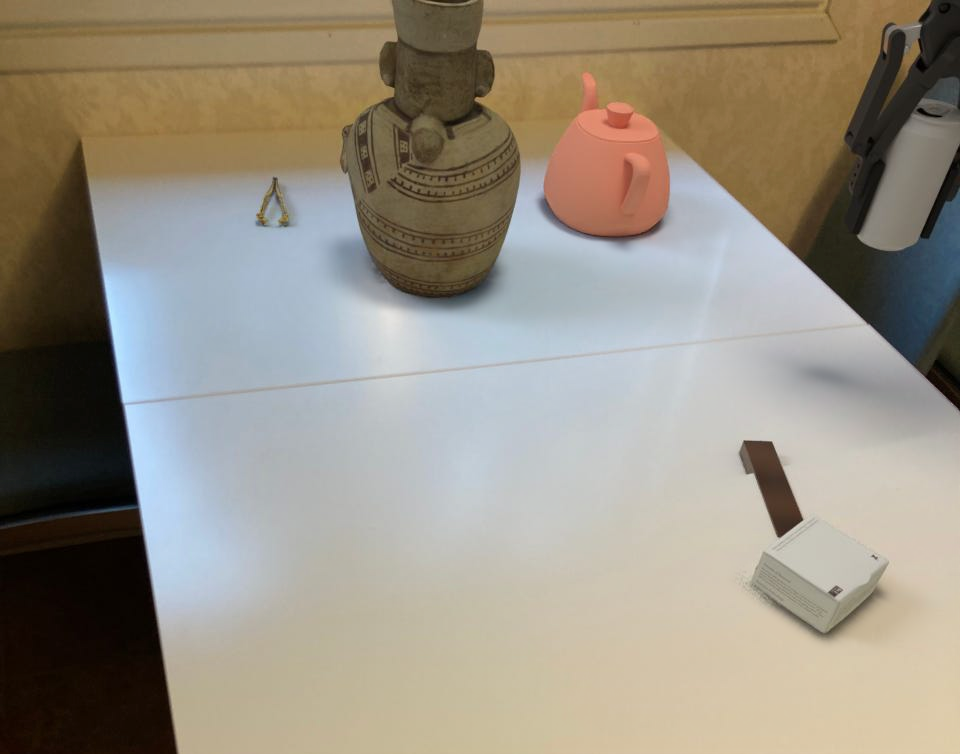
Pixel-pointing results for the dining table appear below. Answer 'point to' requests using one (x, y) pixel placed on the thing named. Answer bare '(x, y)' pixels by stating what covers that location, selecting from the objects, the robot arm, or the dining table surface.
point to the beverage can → (912, 176)
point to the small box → (818, 572)
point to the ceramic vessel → (433, 155)
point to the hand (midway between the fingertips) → (886, 229)
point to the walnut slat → (772, 484)
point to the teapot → (608, 170)
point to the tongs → (265, 200)
